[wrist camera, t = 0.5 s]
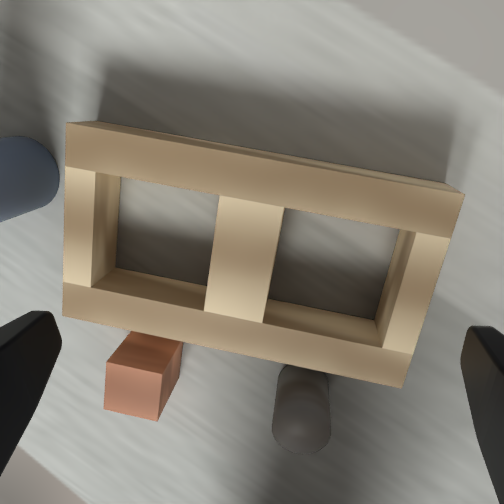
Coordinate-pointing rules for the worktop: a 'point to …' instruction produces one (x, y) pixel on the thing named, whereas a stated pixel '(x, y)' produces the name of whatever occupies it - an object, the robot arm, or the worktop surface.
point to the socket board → (245, 270)
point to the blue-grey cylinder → (25, 176)
